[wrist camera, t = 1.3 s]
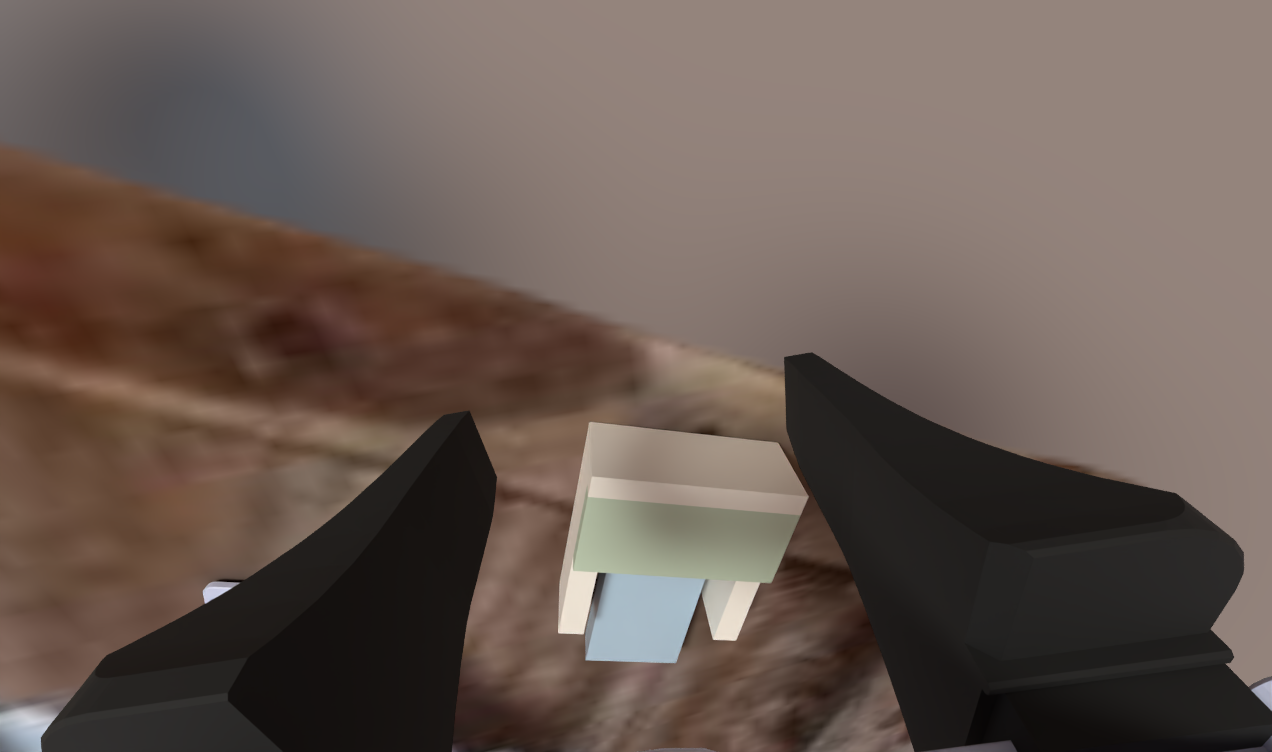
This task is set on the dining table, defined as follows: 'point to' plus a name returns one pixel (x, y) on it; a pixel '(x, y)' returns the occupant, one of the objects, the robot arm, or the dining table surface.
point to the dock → (679, 517)
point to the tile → (640, 617)
